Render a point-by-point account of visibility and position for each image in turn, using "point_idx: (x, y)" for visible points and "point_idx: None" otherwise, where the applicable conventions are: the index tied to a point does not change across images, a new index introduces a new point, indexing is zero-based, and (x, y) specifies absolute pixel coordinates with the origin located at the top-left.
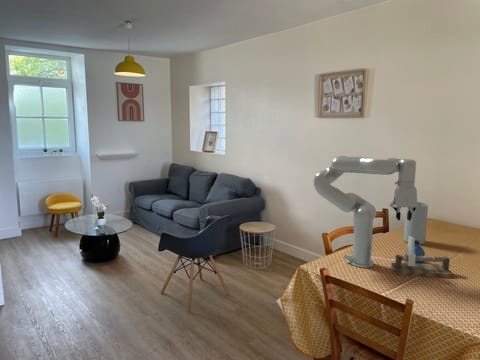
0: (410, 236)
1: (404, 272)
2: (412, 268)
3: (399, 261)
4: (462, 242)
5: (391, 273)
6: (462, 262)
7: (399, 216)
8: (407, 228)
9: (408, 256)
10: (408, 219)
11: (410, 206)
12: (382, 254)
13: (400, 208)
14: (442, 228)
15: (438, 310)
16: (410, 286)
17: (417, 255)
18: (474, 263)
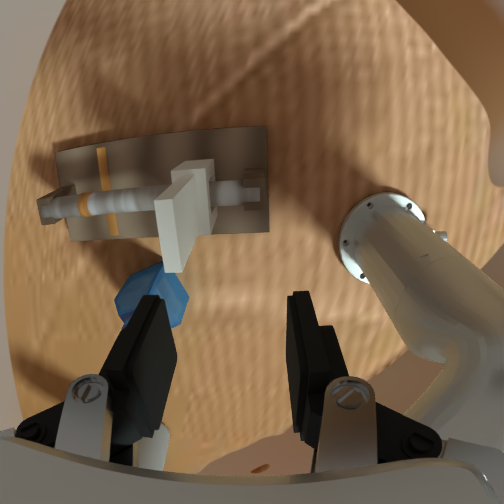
0: (169, 264)
1: (241, 127)
2: None
3: (254, 174)
4: (39, 409)
5: (290, 145)
6: (27, 292)
7: (311, 324)
8: (155, 459)
9: (208, 176)
10: (165, 318)
11: (64, 471)
12: (268, 339)
13: (322, 455)
14: None
15: None
16: (248, 27)
17: (146, 281)
18: (5, 287)
